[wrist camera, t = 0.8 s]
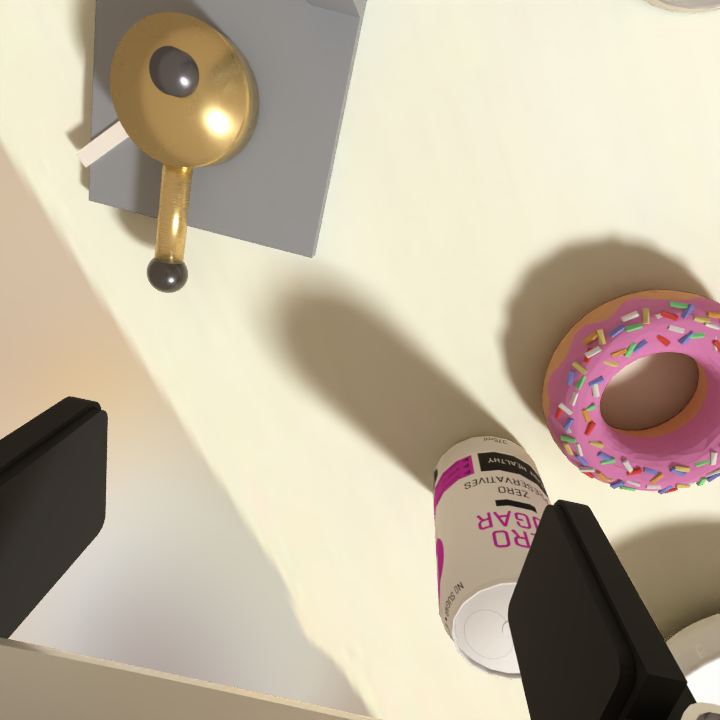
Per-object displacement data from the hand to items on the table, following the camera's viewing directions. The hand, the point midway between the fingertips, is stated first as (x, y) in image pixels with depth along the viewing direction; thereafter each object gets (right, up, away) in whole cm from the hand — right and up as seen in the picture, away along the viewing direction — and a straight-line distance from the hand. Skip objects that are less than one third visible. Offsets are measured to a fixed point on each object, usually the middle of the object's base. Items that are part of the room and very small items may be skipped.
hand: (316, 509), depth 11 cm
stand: (-8, +22, +22) cm, 32 cm away
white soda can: (+11, -6, +31) cm, 34 cm away
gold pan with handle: (-10, +16, +23) cm, 30 cm away
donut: (+21, +2, +27) cm, 35 cm away
